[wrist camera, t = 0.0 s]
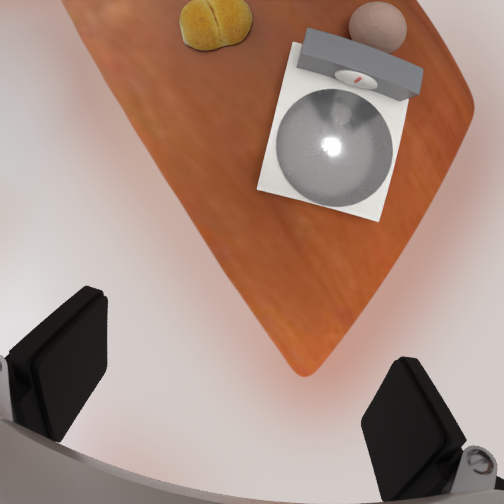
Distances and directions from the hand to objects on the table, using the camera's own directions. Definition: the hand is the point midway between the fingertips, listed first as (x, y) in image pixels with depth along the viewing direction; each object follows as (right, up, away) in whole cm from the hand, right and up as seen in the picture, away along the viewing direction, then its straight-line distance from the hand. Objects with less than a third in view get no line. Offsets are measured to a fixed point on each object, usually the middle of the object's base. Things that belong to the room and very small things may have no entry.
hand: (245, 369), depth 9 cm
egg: (+15, +30, +23) cm, 41 cm away
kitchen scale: (+10, +18, +27) cm, 34 cm away
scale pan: (+9, +15, +23) cm, 28 cm away
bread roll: (-4, +32, +24) cm, 40 cm away
